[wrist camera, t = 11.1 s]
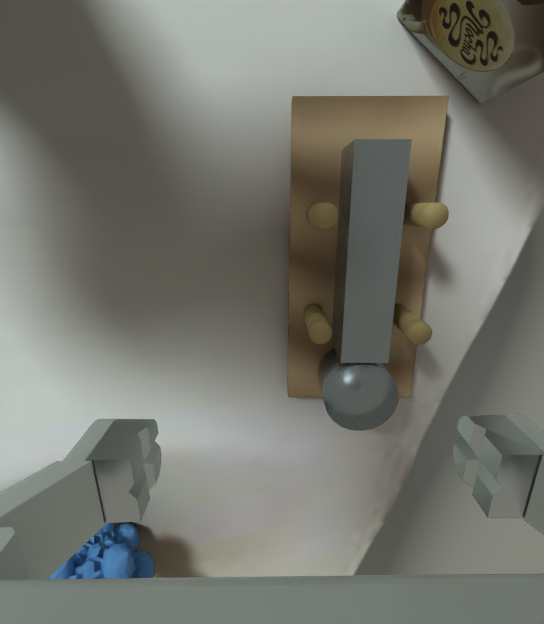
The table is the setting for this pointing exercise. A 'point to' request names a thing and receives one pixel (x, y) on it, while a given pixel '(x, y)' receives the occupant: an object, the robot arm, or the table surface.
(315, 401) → the table surface
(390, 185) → the grey bar
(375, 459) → the table surface
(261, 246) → the table surface
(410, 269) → the peg board
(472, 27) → the coffee box
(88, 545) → the grapes
